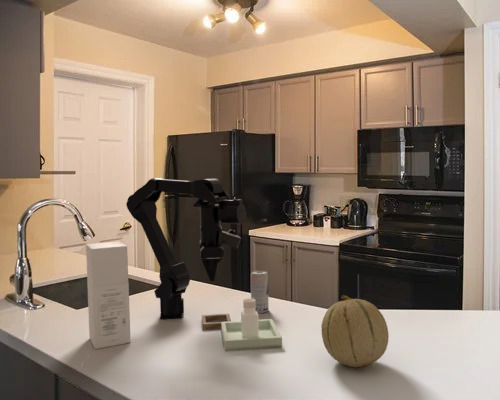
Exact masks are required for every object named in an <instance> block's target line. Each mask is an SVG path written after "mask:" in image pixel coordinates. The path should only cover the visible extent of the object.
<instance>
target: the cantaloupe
mask: <svg viewBox="0 0 500 400" xmlns="http://www.w3.org/2000/svg"><path fill="white" fill-rule="evenodd" d="M340 298H341V300H339V301H338V302H335V303H333V304H332V305H331V306H329V308H328V309H327V310H326V311H325V313H324V316H323V318H322V321H321V329H320V330H321V337H322V342H323V346H324V348H325V350H326V352H327V353H328V354H329V355H330V357H331V358H333V359H334V360H335V361H337V362H338V363H340V364H342V365H344V366H348V367H351V368H361V367H365V366H367V365H370V364H373V363H375V362H377V361H378V360H380V359H381V358H382V357H383V356H384V354H385V352H386V350H387V348H388V345H389V337H390V336H389V327H388V325H387V321H386V319H385V317H384V315H383V314H382V312H381V311H380V310H379V309H378V307H376V306H375V304H373V303H371V302H369V301H367V300H365V299H360V298H351V297H349V296H347V295H345V294H344V295H341V297H340Z"/></svg>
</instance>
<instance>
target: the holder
mask: <svg viewBox="0 0 500 400" xmlns="http://www.w3.org/2000/svg"><path fill="white" fill-rule="evenodd" d="M211 321H212V322H211ZM222 321H225V322H230V321H232V319H231V316H230V313H217V314H216V313H215V314H214V313H213V314H203V315H201V325H202V326H201V327H202V328H201V329H202V331H203V330H218V329H221V322H222Z"/></svg>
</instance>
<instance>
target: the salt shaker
mask: <svg viewBox="0 0 500 400" xmlns="http://www.w3.org/2000/svg"><path fill="white" fill-rule="evenodd" d="M242 301H243V302H242V303H243V311H241V313H240V317H241V320H240V321H241V330H242V335H243V337H244V338H256V337H258V336H259V320H260V319H259V313H257V311H256V300H255V299H251V298H245V299H244V300H242Z"/></svg>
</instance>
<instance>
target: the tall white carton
mask: <svg viewBox="0 0 500 400" xmlns="http://www.w3.org/2000/svg"><path fill="white" fill-rule="evenodd" d="M85 250H86V251H85V253H86V278H87V279H86V281H87V285H86V286H87V309H88V310H87V311H88V330H89V331H88V332H89V334H88V336H89V339H90V342H91V343H92V345H93V348H94V349H95V350H97V349H98V350H99V349H104V348H109V347H110V348H111V347H115V346H120V345H124V344H130V343H131V317H130V313H131V311H130V288H129V287H130V286H129V285H130V284H129V265H128V264H129V263H128V261H129V260H128V245H126V244H124V243H123V242H121V241H110V242H109V241H108V242H98V243H96V242H95V243H87V244H85Z"/></svg>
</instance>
